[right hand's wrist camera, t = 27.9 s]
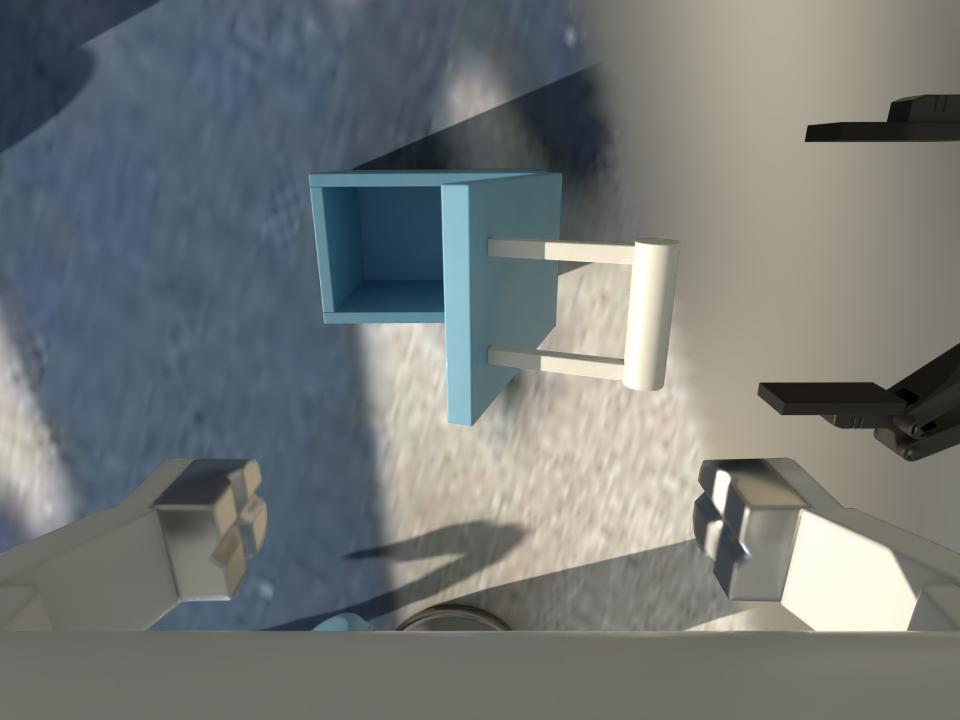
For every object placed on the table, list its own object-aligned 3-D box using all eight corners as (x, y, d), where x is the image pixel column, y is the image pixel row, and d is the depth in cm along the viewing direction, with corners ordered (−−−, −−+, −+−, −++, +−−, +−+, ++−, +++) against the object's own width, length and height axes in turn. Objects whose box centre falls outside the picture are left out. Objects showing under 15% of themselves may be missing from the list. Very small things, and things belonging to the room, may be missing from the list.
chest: (358, 287, 49) (324, 323, 38) (348, 169, 45) (308, 173, 35) (531, 286, 49) (546, 322, 38) (535, 169, 45) (552, 172, 35)
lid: (446, 423, 24) (654, 457, 21) (439, 183, 20) (686, 186, 18) (538, 324, 38) (671, 336, 35) (543, 172, 34) (690, 173, 31)
